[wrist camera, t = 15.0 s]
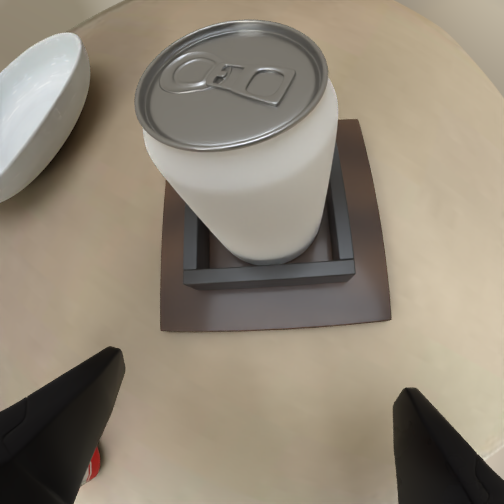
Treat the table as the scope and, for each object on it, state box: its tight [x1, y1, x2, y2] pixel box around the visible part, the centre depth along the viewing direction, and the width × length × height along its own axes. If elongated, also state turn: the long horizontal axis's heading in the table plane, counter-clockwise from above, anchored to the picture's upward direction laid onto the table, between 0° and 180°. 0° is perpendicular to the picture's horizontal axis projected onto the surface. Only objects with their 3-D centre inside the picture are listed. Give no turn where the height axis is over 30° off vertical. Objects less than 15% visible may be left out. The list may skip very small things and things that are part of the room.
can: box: [135, 20, 338, 266], centre depth 13 cm, size 6×6×12 cm
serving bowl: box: [0, 33, 90, 203], centre depth 23 cm, size 21×21×7 cm
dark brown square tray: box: [160, 119, 391, 332], centre depth 18 cm, size 14×14×4 cm
